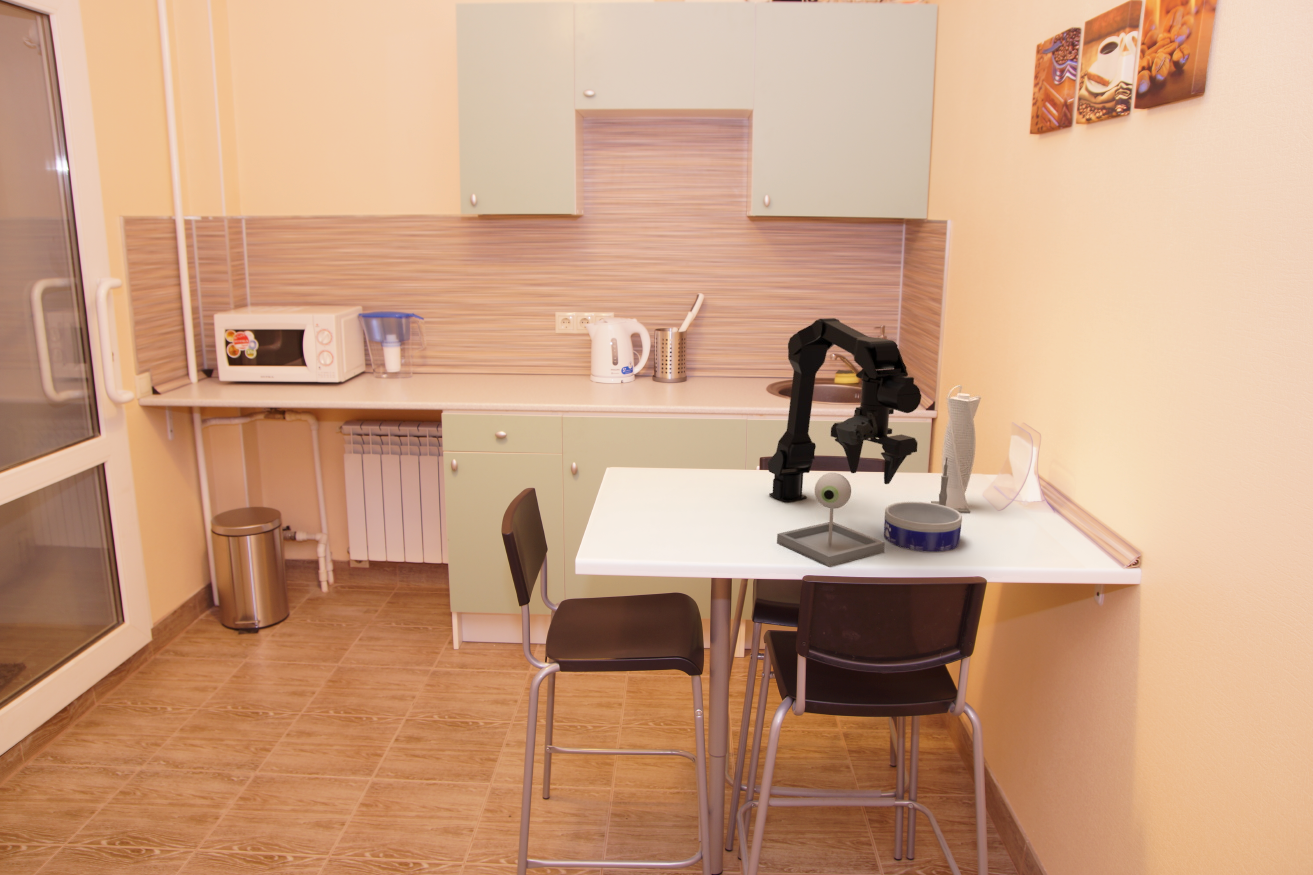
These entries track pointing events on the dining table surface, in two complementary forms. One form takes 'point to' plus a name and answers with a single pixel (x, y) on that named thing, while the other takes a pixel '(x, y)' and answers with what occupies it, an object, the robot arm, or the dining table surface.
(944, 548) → the dog bowl
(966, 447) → the skyscraper
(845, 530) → the tray
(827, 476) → the lollipop
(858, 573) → the dining table surface
